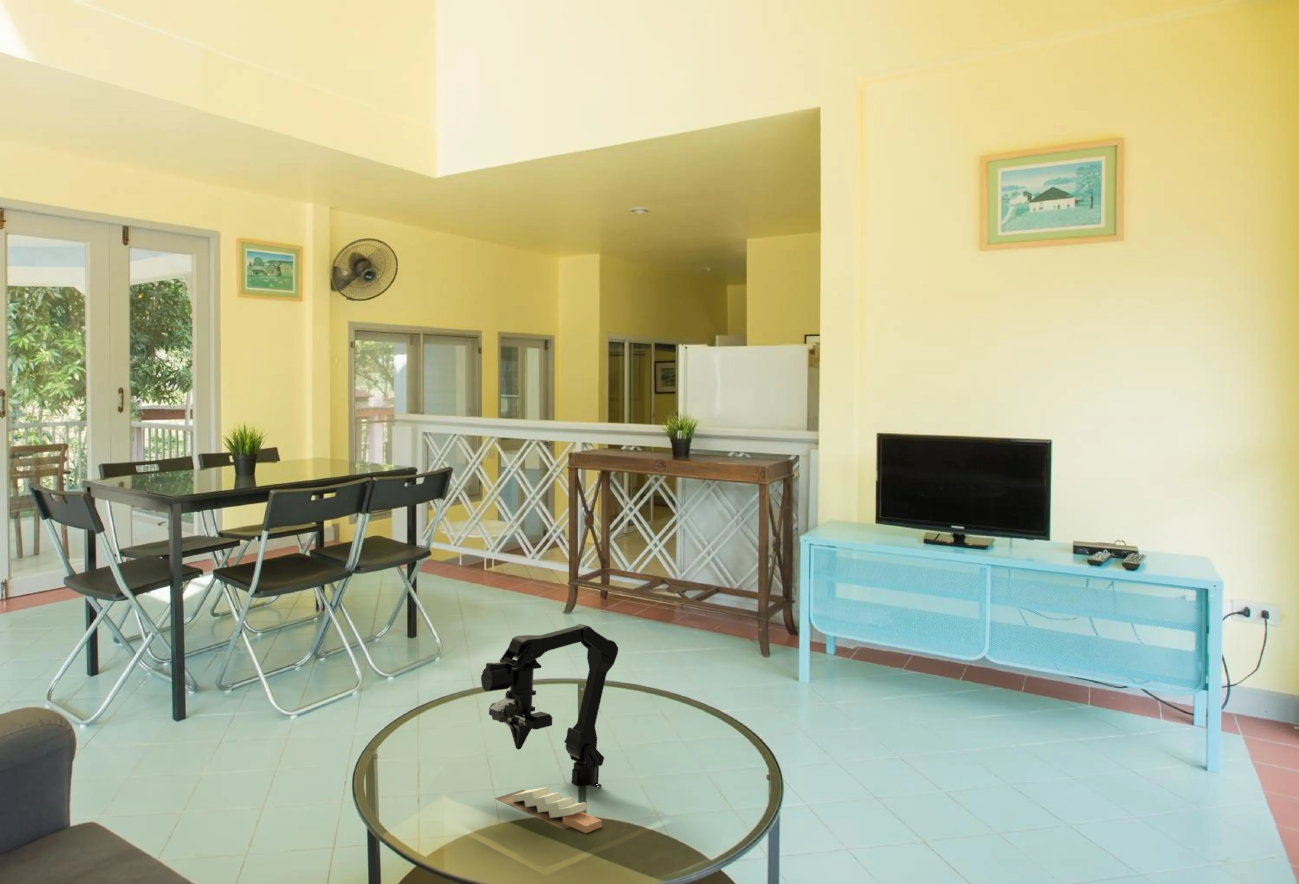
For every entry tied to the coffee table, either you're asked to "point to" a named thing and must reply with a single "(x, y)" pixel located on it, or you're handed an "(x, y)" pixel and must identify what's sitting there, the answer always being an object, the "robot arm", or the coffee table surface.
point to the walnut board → (532, 810)
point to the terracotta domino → (582, 822)
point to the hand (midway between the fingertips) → (518, 748)
